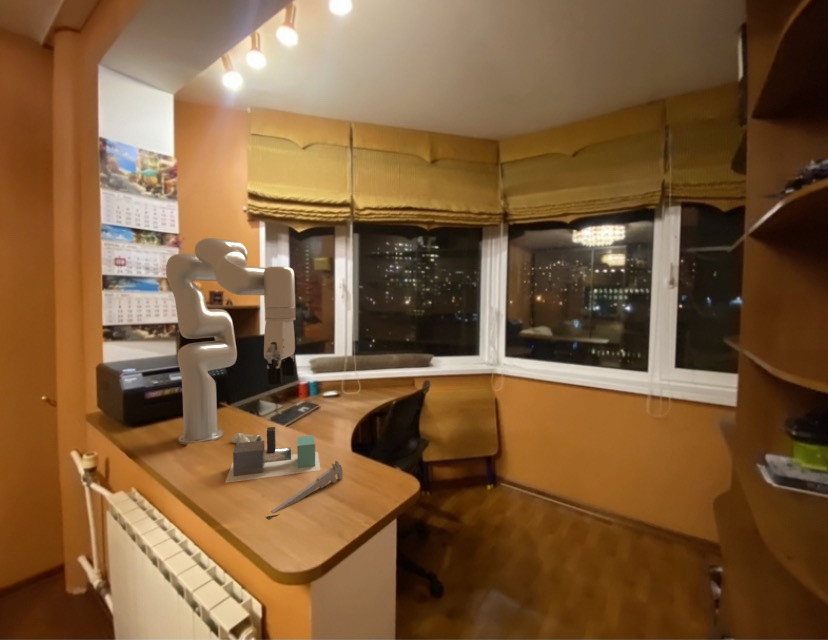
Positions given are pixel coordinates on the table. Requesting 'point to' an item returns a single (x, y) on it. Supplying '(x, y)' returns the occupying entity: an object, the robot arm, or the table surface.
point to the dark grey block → (248, 458)
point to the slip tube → (275, 449)
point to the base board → (276, 469)
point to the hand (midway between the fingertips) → (282, 379)
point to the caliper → (313, 486)
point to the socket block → (306, 451)
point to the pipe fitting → (245, 438)
